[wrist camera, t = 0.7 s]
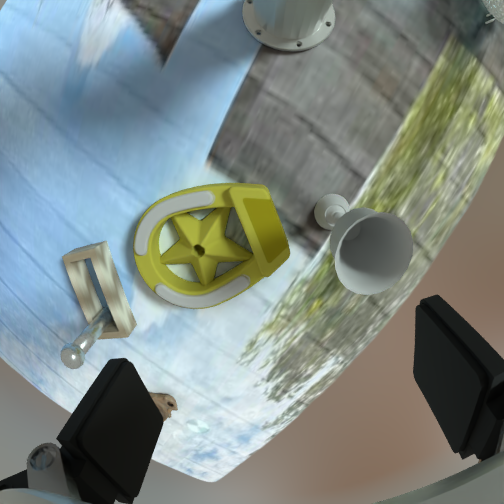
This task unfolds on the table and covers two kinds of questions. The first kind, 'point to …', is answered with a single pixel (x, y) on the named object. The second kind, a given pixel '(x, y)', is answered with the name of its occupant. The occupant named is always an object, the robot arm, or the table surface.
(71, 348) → the silver metal pin
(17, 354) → the table surface
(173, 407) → the oil lamp
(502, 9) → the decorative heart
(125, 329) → the link
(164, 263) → the yellow-green spoked oval frame
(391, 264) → the chalice
